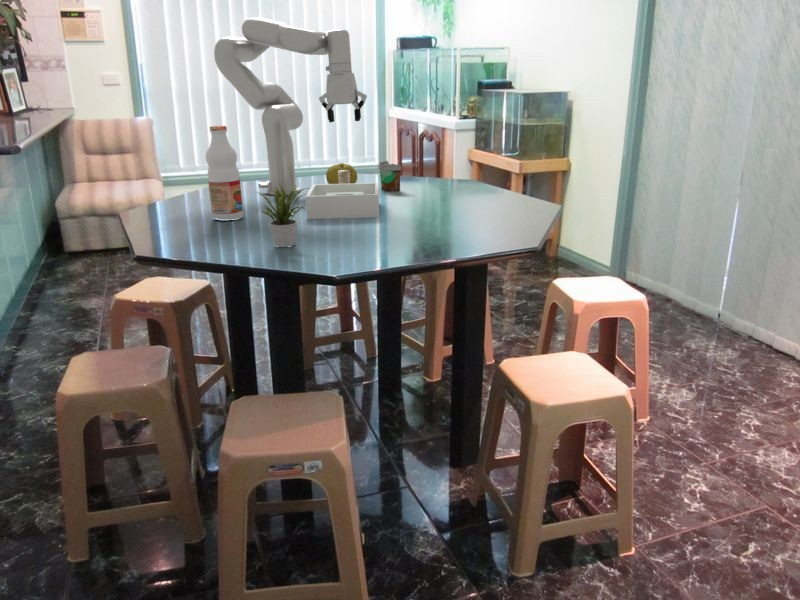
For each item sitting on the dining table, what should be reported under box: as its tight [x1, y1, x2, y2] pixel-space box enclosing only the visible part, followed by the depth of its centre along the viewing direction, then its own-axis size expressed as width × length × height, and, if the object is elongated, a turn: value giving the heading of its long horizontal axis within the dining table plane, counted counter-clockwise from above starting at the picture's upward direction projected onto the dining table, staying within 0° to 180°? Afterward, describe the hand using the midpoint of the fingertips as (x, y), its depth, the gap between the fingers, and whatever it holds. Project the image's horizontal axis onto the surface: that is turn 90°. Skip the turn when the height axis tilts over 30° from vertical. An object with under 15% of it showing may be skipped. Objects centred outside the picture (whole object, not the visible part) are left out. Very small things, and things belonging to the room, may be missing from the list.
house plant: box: [256, 184, 309, 247], centre depth 166 cm, size 14×14×16 cm
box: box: [305, 182, 380, 220], centre depth 208 cm, size 22×22×7 cm
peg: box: [338, 170, 350, 184], centre depth 227 cm, size 4×4×10 cm
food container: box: [377, 160, 402, 192], centre depth 243 cm, size 12×6×10 cm, turn 25°
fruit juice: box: [205, 125, 244, 219], centre depth 198 cm, size 9×9×28 cm
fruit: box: [325, 162, 358, 184], centre depth 245 cm, size 11×12×10 cm
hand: (344, 121), depth 225 cm, fingers open, 9 cm apart
